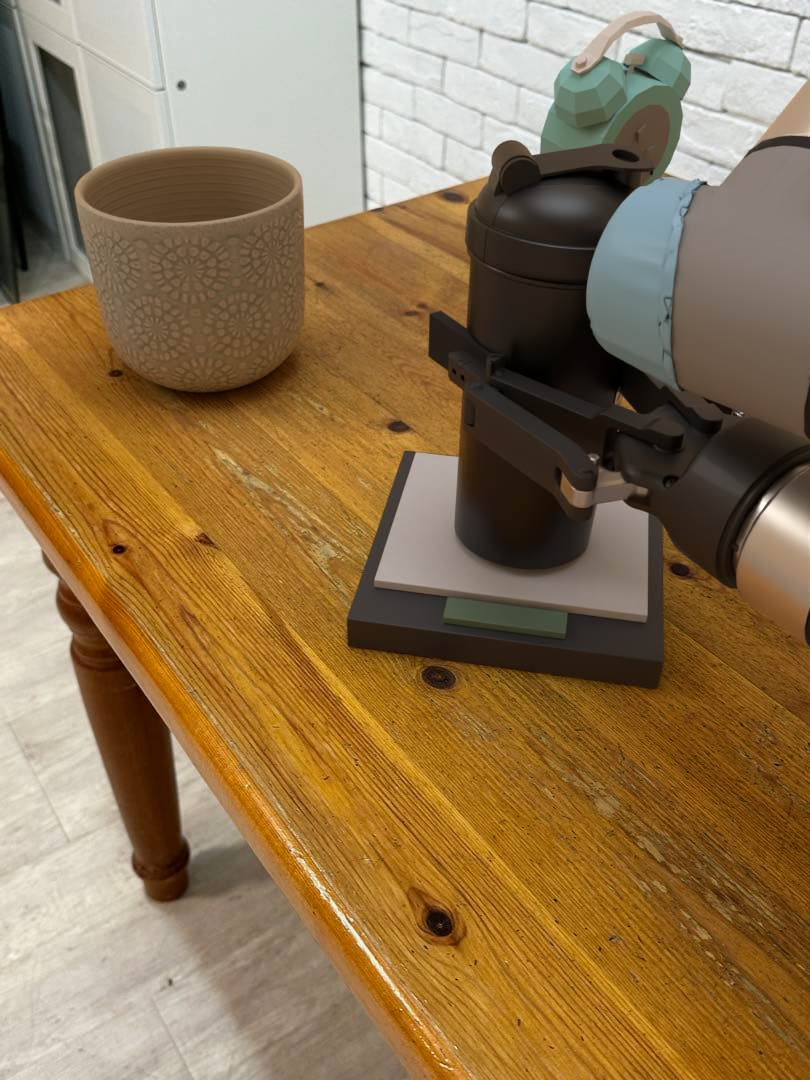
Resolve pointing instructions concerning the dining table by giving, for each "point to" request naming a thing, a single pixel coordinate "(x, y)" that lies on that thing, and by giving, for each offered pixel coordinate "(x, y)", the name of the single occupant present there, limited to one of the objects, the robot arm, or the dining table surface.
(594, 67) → the alarm clock
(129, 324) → the planter
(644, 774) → the dining table surface
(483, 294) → the water bottle
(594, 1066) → the dining table surface
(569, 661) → the scale
